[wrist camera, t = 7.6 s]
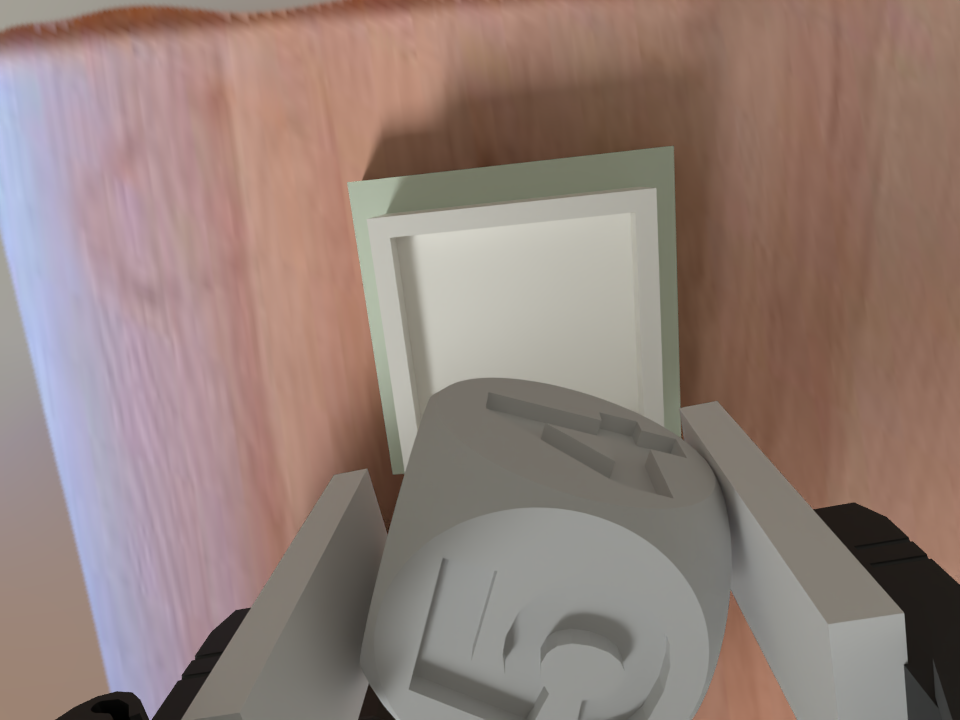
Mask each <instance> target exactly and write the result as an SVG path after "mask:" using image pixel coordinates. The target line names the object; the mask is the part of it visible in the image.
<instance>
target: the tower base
mask: <svg viewBox="0 0 960 720" xmlns="http://www.w3.org/2000/svg"><path fill="white" fill-rule="evenodd" d="M347 184H348V191H349V197H350V203H351V210H352V216H353V223H354V229H355V235H356V242H357V248H358V255H359V261H360V268H361V274H362V280H363V287H364V293H365V300H366V306H367V312H368V319H369V325H370V332H371V338H372V344H373V351H374V357H375V364H376V370H377V377H378V383H379V389H380V396H381V402H382V409H383V415H384V421H385V428H386V434H387V441H388V447H389V454H390V460H391V466H392V473H393V475H395V474H405V471H406V467H407V464H408V461H409V457H410V454H411V451H412V447H413V444H414V441H415V438H416V435H417V431H418V428H419V425H420V422H421V419H422V417H423V414H424V411H425V408H426V406H427V403H428V401H429V399H430V397H431V396H432V395H433V394H435V393H437V392H439V391H440V390H442V389H444V388H446V387H447V386H449V385H451V384H454V383H456V382H459V381H463V380H468V379H475V378H512V379H522V380H529V381H535V382H541V383H546V384H551V385H556V386H560V387H564V388H568V389H572V390H575V391H579V392H582V393H586V394H589V395H592V396H595V397H598V398H601V399H604V400H607V401H609V402H612V403H614V404H617V405H619V406H622V407H624V408H627V409H629V410H631V411H634V412H636V413H638V414H640V415H642V416H644V417H646V418H648V419H650V420H652V421H654V422H656V423H658V424H659V425H661V426H663V427H665V428H666V429H668V430H669V431H671V432H673V433H674V434H676V435H677V436H679V437H680V438H681V417H680V411H679V408H680V370H679V331H678V291H677V252H676V212H675V173H674V146H667V147H658V148H649V149H640V150H631V151H622V152H613V153H604V154H596V155H587V156H578V157H569V158H560V159H551V160H542V161H534V162H525V163H516V164H507V165H498V166H489V167H480V168H471V169H463V170H454V171H445V172H436V173H427V174H418V175H409V176H401V177H392V178H383V179H374V180H365V181H356V182H347Z"/></svg>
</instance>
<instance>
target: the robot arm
mask: <svg viewBox="0 0 960 720" xmlns="http://www.w3.org/2000/svg"><path fill="white" fill-rule="evenodd" d="M679 411H680V417H681V423H682V429H683V435H684V441H685V442H687V443H688V444H689V445H691V446H692V447H693V448H694V449H695V450H696V451H697V452H698V453H699V454H700V455H701V456H702V457H703V458H704V459H705V460H706V462H707V463H708V464H709V466H710V467H711V469H712V471H713V473H714V475H715V476H716V478H717V480H718V482H719V484H720V487H721V489H722V492H723V495H724V498H725V502H726V506H727V511H728V517H729V523H730V533H731V549H732V570H731V588H730V589H731V591H732V593H733V595H734V597H735V599H736V601H737V603H738V605H739V607H740V609H741V611H742V613H743V615H744V617H745V619H746V621H747V623H748V625H749V627H750V629H751V631H752V632H753V634H754V636H755V638H756V640H757V642H758V644H759V646H760V648H761V650H762V652H763V654H764V656H765V658H766V660H767V662H768V664H769V666H770V668H771V670H772V672H773V674H774V676H775V678H776V679H777V681H778V683H779V685H780V687H781V689H782V691H783V693H784V695H785V697H786V699H787V701H788V703H789V705H790V707H791V709H792V711H793V713H794V715H795V717H796V719H797V720H960V585H959V584H958V583H957V582H956V581H955V580H954V579H953V578H952V577H951V576H950V575H949V574H947V573H946V572H945V571H944V570H943V569H942V568H941V567H940V566H939V565H938V564H937V563H936V562H935V561H933V560H932V559H928V557H927V554H926V553H925V552H924V551H923V550H922V549H920V548H919V547H918V546H917V545H916V544H915V543H914V542H913V541H912V542H910V541H909V538H908V536H906V535H905V534H904V533H903V532H902V531H901V530H900V529H899V528H898V527H897V526H896V525H895V524H893V523H892V522H891V521H890V520H889V519H888V518H887V517H885V516H883V515H881V514H879V513H876V512H874V511H872V510H870V509H868V508H865V507H863V506H861V505H859V504H856V503H849V504H843V505H837V506H831V507H825V508H819V509H812V508H811V507H810V506H809V504H808V503H807V502H806V501H805V500H804V499H803V498H802V497H801V495H800V494H799V493H798V492H797V491H796V490H795V489H794V487H793V486H792V485H791V484H790V483H789V482H788V481H787V480H786V478H785V477H784V476H783V475H782V474H781V473H780V472H779V470H778V469H777V468H776V467H775V466H774V465H773V464H772V463H771V461H770V460H769V459H768V458H767V457H766V456H765V455H764V453H763V452H762V451H761V450H760V449H759V448H758V447H757V446H756V444H755V443H754V442H753V441H752V440H751V439H750V438H749V436H748V435H747V434H746V433H745V432H744V431H743V430H742V429H741V427H740V426H739V425H738V424H737V423H736V422H735V421H734V419H733V418H732V417H731V416H730V415H729V414H728V413H727V412H726V410H725V409H724V408H723V407H722V406H721V405H720V404H719V402H718V401H714V402H709V403H704V404H698V405H693V406H688V407H683V408H679ZM387 536H388V535H387V531H386V528H385V525H384V521H383V518H382V515H381V511H380V508H379V505H378V502H377V498H376V495H375V492H374V488H373V485H372V482H371V478H370V475H369V472H368V469H362V470H357V471H352V472H347V473H341V474H336V475H334V476H333V477H332V479H331V481H330V482H329V484H328V485H327V487H326V489H325V490H324V492H323V493H322V495H321V497H320V498H319V500H318V501H317V503H316V505H315V506H314V508H313V509H312V511H311V513H310V514H309V516H308V517H307V519H306V521H305V522H304V524H303V525H302V527H301V529H300V530H299V532H298V533H297V535H296V537H295V538H294V540H293V541H292V543H291V545H290V546H289V548H288V549H287V551H286V553H285V554H284V556H283V557H282V559H281V561H280V562H279V564H278V565H277V567H276V569H275V570H274V572H273V573H272V575H271V577H270V578H269V580H268V581H267V583H266V585H265V586H264V588H263V589H262V591H261V593H260V594H259V596H258V597H257V599H256V601H255V602H254V604H253V605H252V607H251V608H246V609H240V610H236V611H234V612H233V613H232V614H231V615H230V616H229V617H228V618H227V619H225V620H224V621H223V622H222V623H221V624H220V625H219V626H218V627H216V628H215V629H214V630H213V631H212V632H211V633H210V635H209V636H208V638H207V639H206V641H205V642H204V643H203V645H202V646H201V648H200V649H199V651H198V652H197V654H196V655H195V660H193V661H191V663H190V664H189V666H188V667H187V669H186V670H185V671H184V673H183V674H182V680H180V681H178V682H177V683H176V685H175V686H174V688H173V689H172V691H171V692H170V694H169V695H168V696H167V698H166V699H165V701H164V702H163V704H162V705H161V707H160V708H159V710H158V711H157V713H156V714H155V716H154V717H153V719H152V720H358V718H359V714H360V711H361V708H362V704H363V701H364V698H365V694H366V691H367V688H368V684H369V682H368V680H367V679H366V677H365V675H364V673H363V671H362V669H361V667H360V654H361V648H362V642H363V637H364V632H365V627H366V623H367V618H368V614H369V609H370V605H371V600H372V596H373V592H374V588H375V584H376V579H377V575H378V571H379V567H380V563H381V559H382V555H383V551H384V548H385V544H386V540H387ZM56 720H149V718H148V716H147V714H146V712H145V709H144V707H143V705H142V703H141V700H140V699H139V698H138V697H137V696H136V695H134V694H133V693H132V692H118V691H117V692H113V693H109V694H105V695H102V696H97V697H95V698H93V699H91V700H89V701H87V702H84V703H82V704H80V705H78V706H76V707H74V708H72V709H71V710H69V711H68V712H66V713H65V714H63V715H62V716H60V717H59V718H58V719H56Z"/></svg>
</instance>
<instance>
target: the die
mask: <svg viewBox="0 0 960 720" xmlns="http://www.w3.org/2000/svg"><path fill="white" fill-rule="evenodd" d="M731 570H732V549H731V533H730V523H729V517H728V511H727V506H726V502H725V498H724V495H723V492H722V489H721V487H720V484H719V482H718V480H717V478H716V476H715V475H714V473H713V471H712V469H711V467H710V466H709V464H708V463H707V462H706V460H705V459H704V458H703V457H702V456H701V455H700V454H699V453H698V452H697V451H696V450H695V449H694V448H693V447H692V446H691V445H689V444H688V443H687V442H685V441H684V440H683V439H681V438H680V437H679V436H677V435H676V434H674V433H673V432H671V431H669V430H668V429H666V428H665V427H663V426H661V425H659V424H658V423H656V422H654V421H652V420H650V419H648V418H646V417H644V416H642V415H640V414H638V413H636V412H634V411H631V410H629V409H627V408H624V407H622V406H619V405H617V404H614V403H612V402H609V401H607V400H604V399H601V398H598V397H595V396H592V395H589V394H586V393H582V392H579V391H575V390H572V389H568V388H564V387H560V386H556V385H551V384H546V383H541V382H535V381H529V380H522V379H512V378H475V379H468V380H463V381H459V382H456V383H454V384H451V385H449V386H447V387H446V388H444V389H442V390H440V391H439V392H437V393H435V394H433V395H432V396H431V397H430V399H429V401H428V403H427V406H426V408H425V411H424V414H423V417H422V419H421V422H420V425H419V428H418V431H417V435H416V438H415V441H414V444H413V447H412V451H411V454H410V457H409V461H408V464H407V467H406V471H405V474H404V478H403V481H402V485H401V488H400V492H399V495H398V499H397V503H396V506H395V510H394V514H393V517H392V521H391V525H390V529H389V532H388V536H387V540H386V544H385V548H384V551H383V555H382V559H381V563H380V567H379V571H378V575H377V579H376V584H375V588H374V592H373V596H372V600H371V605H370V609H369V614H368V618H367V623H366V627H365V632H364V637H363V642H362V648H361V654H360V667H361V669H362V671H363V673H364V675H365V677H366V679H367V680H368V682H369V684H370V686H371V688H372V689H373V691H374V692H375V693H376V695H377V696H378V698H379V699H380V701H381V702H382V704H383V705H384V706H385V708H386V709H387V710H388V711H389V712H390V714H391V715H392V716H393V717H394V718H395V719H396V720H692V719H693V717H694V716H695V714H696V713H697V711H698V709H699V707H700V705H701V703H702V701H703V699H704V697H705V695H706V693H707V690H708V688H709V685H710V683H711V680H712V677H713V674H714V671H715V668H716V665H717V661H718V657H719V654H720V650H721V646H722V641H723V637H724V632H725V626H726V621H727V614H728V607H729V599H730V588H731Z"/></svg>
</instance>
